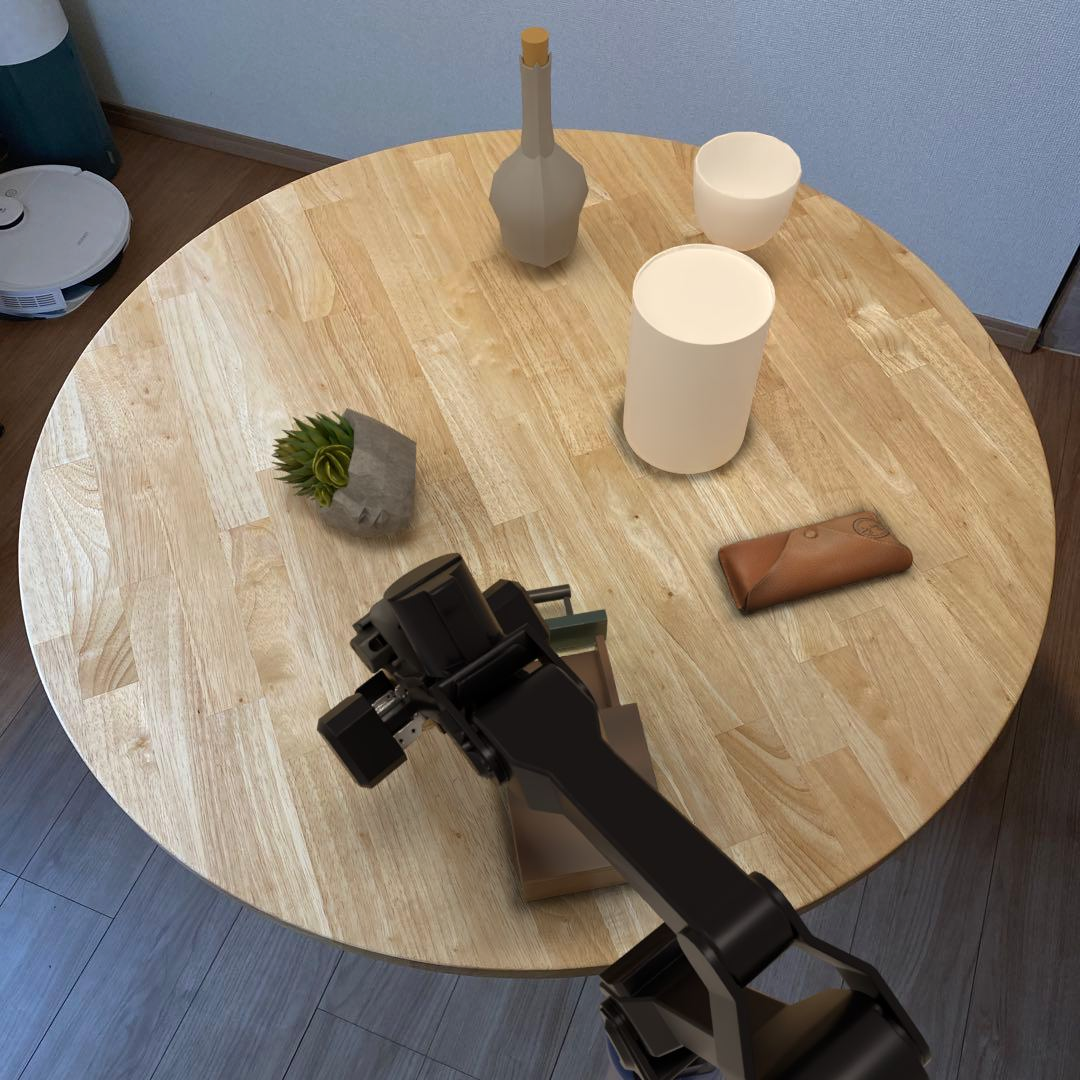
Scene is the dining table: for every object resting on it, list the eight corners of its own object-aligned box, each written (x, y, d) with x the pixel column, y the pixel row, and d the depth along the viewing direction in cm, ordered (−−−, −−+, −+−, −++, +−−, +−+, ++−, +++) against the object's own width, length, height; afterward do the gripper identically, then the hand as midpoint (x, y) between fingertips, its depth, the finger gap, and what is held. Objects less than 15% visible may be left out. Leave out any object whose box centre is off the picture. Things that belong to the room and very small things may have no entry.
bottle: (506, 226, 135) (493, -1, 110) (592, 236, 134) (598, 9, 109) (486, 287, 129) (467, 62, 104) (576, 298, 128) (579, 73, 103)
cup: (673, 307, 127) (687, 192, 112) (687, 242, 133) (702, 124, 118) (770, 321, 125) (797, 206, 111) (780, 255, 131) (806, 137, 117)
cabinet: (499, 753, 96) (495, 727, 91) (633, 729, 97) (636, 702, 92) (524, 902, 89) (521, 883, 84) (668, 874, 90) (674, 854, 85)
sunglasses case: (872, 504, 110) (902, 498, 103) (889, 569, 110) (921, 567, 103) (711, 548, 107) (731, 545, 101) (729, 615, 107) (751, 616, 100)
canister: (767, 413, 117) (800, 279, 101) (704, 494, 112) (728, 366, 95) (665, 362, 122) (680, 225, 105) (599, 436, 116) (605, 304, 99)
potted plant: (402, 560, 104) (249, 528, 101) (404, 523, 116) (268, 494, 114) (428, 443, 101) (271, 408, 98) (428, 418, 113) (288, 386, 110)
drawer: (482, 613, 103) (479, 591, 100) (595, 594, 104) (596, 572, 101) (509, 772, 94) (507, 754, 91) (632, 749, 95) (635, 731, 92)
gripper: (519, 525, 74) (438, 520, 88) (301, 689, 67) (252, 656, 81) (595, 649, 77) (506, 626, 91) (394, 818, 71) (331, 765, 84)
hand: (402, 664), depth 87 cm, fingers closed on sprinkles bottle, 4 cm apart
